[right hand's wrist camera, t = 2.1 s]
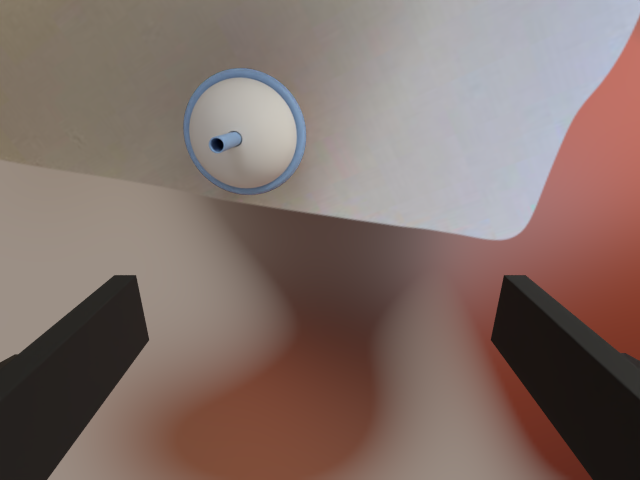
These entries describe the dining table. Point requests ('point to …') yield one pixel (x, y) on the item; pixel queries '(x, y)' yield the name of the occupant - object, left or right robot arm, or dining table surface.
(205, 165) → the cup with straw
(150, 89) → the dining table surface
